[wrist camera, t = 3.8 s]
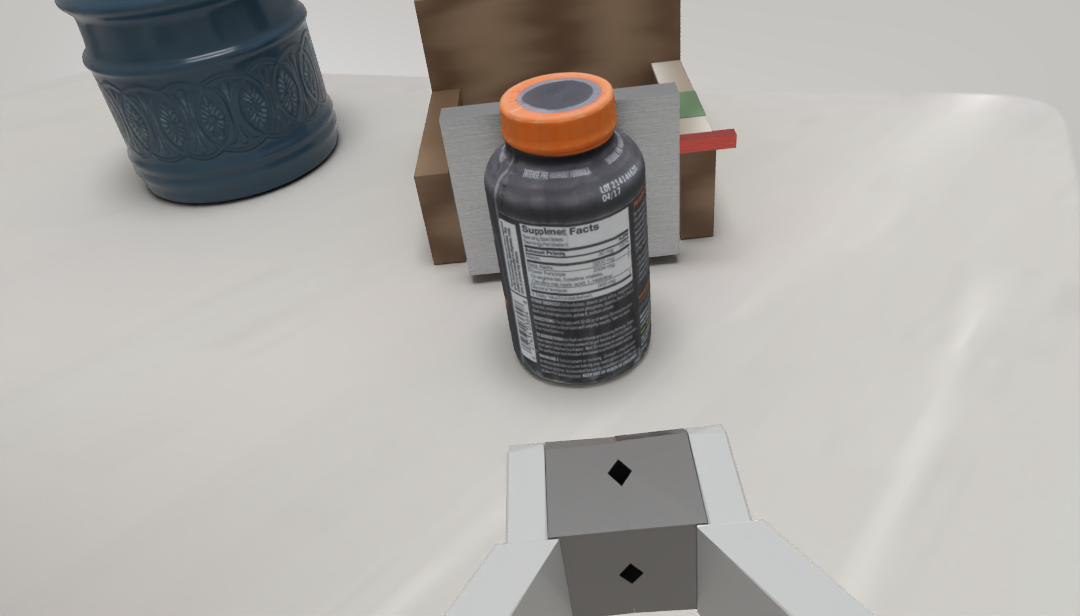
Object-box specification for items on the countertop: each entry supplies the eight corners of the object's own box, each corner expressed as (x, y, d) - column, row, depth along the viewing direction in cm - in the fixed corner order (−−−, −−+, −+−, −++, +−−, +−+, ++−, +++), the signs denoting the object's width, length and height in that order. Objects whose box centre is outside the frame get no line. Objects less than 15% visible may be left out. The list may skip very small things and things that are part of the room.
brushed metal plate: (470, 275, 38) (438, 120, 33) (471, 261, 39) (441, 108, 34) (732, 248, 37) (740, 86, 32) (727, 234, 38) (734, 75, 33)
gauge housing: (434, 264, 40) (389, 72, 33) (452, 140, 51) (421, -21, 44) (713, 235, 39) (720, 34, 33) (670, 116, 50) (668, -50, 44)
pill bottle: (557, 286, 37) (529, 50, 30) (674, 318, 34) (672, 66, 27) (486, 364, 33) (436, 114, 26) (611, 407, 30) (592, 140, 24)
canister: (294, 100, 59) (208, -170, 48) (377, 151, 51) (295, -163, 40) (119, 163, 54) (-21, -127, 43) (179, 233, 45) (22, -108, 34)
